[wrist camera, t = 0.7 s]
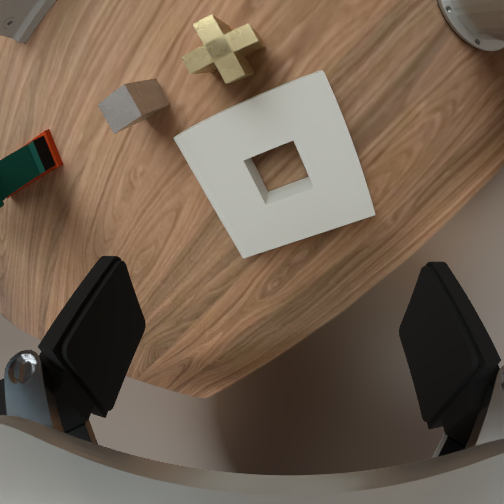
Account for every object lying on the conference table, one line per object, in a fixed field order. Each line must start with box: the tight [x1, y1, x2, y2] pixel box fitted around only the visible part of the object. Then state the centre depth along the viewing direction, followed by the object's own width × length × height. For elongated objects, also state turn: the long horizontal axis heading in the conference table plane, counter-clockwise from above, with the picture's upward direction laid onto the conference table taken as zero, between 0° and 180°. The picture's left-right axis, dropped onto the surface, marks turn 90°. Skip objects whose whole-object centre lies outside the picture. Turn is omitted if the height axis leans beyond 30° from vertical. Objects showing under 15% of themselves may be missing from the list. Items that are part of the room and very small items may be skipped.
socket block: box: [174, 71, 375, 258], centre depth 34 cm, size 18×18×4 cm
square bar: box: [98, 79, 169, 134], centre depth 29 cm, size 4×4×8 cm
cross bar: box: [181, 14, 265, 84], centre depth 25 cm, size 7×7×8 cm
